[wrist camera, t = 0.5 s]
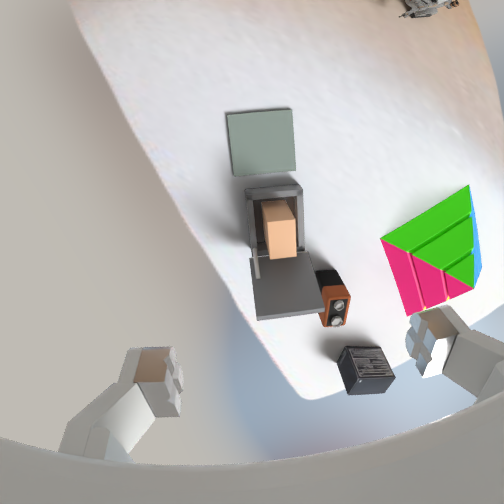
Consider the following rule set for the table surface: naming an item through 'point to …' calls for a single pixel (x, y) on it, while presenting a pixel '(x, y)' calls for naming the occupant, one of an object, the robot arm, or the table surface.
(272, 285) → the equipment case
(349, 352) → the small box
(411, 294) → the pyramid toy
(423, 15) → the figurine
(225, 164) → the table surface
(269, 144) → the rubber mat
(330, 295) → the battery
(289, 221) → the block
